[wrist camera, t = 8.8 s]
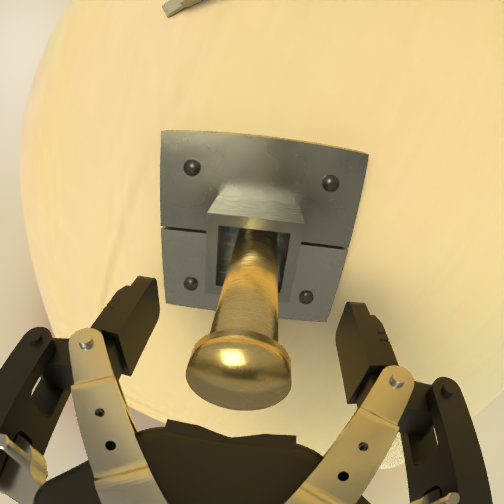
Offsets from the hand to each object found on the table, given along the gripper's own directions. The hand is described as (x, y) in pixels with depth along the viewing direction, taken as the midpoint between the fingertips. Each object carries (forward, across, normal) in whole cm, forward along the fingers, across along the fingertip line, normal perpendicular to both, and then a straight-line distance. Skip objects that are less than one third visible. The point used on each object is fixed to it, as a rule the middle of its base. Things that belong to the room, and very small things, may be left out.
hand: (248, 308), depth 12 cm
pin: (+7, 0, 0) cm, 7 cm away
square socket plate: (+8, 0, 0) cm, 8 cm away
